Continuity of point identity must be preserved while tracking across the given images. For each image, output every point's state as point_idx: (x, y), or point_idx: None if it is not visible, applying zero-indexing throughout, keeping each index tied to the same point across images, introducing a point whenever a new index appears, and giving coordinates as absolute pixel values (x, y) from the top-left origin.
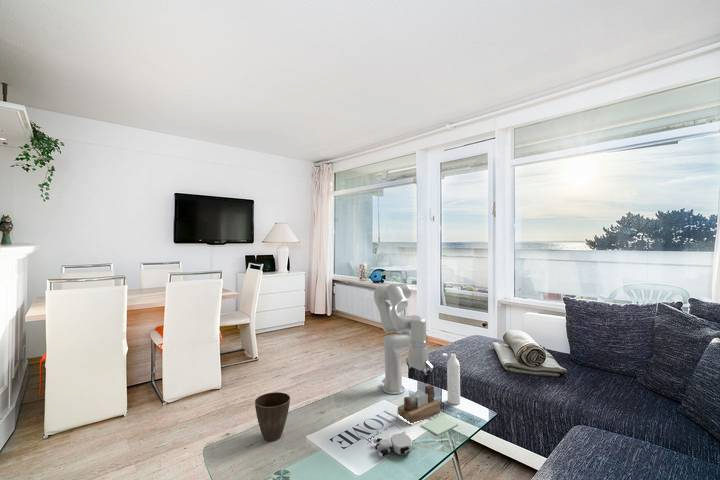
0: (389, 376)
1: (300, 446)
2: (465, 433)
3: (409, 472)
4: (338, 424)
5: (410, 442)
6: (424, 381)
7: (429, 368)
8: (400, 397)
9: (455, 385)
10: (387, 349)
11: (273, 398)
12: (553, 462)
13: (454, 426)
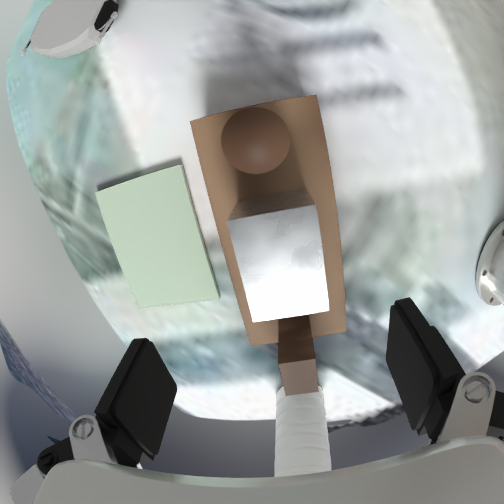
0: None
1: None
2: (93, 289)
3: (18, 36)
4: None
5: (35, 47)
6: (133, 351)
7: (38, 489)
8: (459, 247)
9: (278, 449)
10: None
11: None
12: (13, 341)
13: (130, 287)
